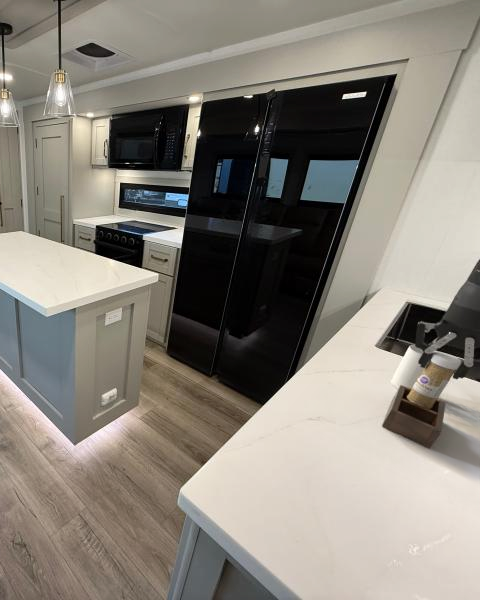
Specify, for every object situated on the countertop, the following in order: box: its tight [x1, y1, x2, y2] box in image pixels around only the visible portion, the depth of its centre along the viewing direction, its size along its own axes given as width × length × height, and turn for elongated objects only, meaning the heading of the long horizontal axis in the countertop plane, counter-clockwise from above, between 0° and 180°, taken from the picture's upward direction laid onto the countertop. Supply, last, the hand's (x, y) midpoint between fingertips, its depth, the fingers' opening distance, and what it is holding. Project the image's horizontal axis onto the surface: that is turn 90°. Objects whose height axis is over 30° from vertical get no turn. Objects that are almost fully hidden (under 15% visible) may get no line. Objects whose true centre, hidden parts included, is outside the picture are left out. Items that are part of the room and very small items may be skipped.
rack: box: [381, 385, 446, 449], centre depth 74 cm, size 8×15×5 cm, turn 130°
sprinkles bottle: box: [407, 351, 463, 409], centre depth 72 cm, size 5×5×14 cm
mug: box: [390, 344, 438, 390], centre depth 84 cm, size 10×7×12 cm, turn 78°
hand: (438, 371), depth 71 cm, fingers closed on sprinkles bottle, 4 cm apart
